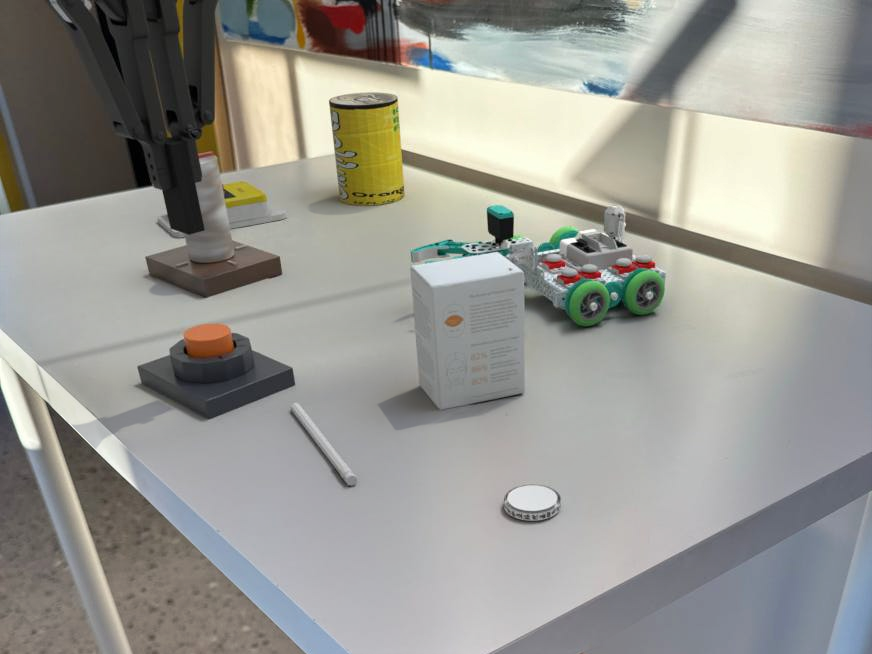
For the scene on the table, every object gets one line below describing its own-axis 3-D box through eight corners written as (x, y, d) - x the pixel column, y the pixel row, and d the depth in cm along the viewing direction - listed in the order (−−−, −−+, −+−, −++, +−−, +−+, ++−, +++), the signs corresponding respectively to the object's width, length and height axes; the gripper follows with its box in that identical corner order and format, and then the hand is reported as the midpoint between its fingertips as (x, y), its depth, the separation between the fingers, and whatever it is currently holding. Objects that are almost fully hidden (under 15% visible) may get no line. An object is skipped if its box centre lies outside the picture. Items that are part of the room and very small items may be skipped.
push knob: (178, 352, 84) (174, 332, 83) (217, 338, 87) (213, 319, 86) (204, 364, 82) (199, 344, 81) (243, 350, 84) (239, 330, 83)
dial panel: (149, 274, 111) (144, 255, 109) (222, 253, 116) (219, 234, 115) (207, 298, 104) (203, 277, 103) (282, 274, 110) (279, 254, 108)
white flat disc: (550, 524, 66) (550, 516, 66) (495, 514, 68) (495, 506, 67) (567, 496, 69) (568, 488, 69) (515, 487, 71) (515, 479, 70)
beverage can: (380, 184, 139) (372, 89, 132) (417, 196, 134) (411, 98, 126) (327, 196, 135) (315, 99, 127) (363, 209, 129) (353, 108, 122)
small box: (501, 370, 87) (499, 250, 81) (526, 394, 83) (526, 269, 76) (417, 386, 85) (408, 263, 78) (438, 412, 81) (430, 285, 74)
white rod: (298, 400, 82) (359, 477, 71) (294, 409, 82) (354, 487, 72) (289, 396, 82) (349, 473, 71) (285, 406, 82) (344, 484, 71)
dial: (205, 266, 106) (184, 164, 100) (180, 256, 109) (159, 157, 102) (243, 254, 109) (225, 154, 102) (218, 246, 112) (199, 148, 105)
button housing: (141, 383, 87) (131, 346, 85) (225, 353, 92) (218, 317, 90) (209, 420, 81) (200, 380, 79) (295, 385, 86) (289, 347, 84)
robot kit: (394, 294, 103) (386, 201, 98) (598, 257, 111) (603, 169, 105) (463, 355, 90) (458, 252, 84) (690, 309, 98) (701, 211, 92)
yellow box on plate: (148, 185, 125) (258, 168, 130) (156, 221, 128) (264, 202, 133) (168, 201, 118) (283, 182, 124) (176, 238, 121) (288, 218, 127)
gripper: (163, -148, 69) (229, 204, 84) (-15, -143, 62) (90, 240, 77) (223, -152, 65) (280, 219, 79) (39, -147, 58) (140, 259, 72)
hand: (187, 229), depth 78 cm, fingers closed
